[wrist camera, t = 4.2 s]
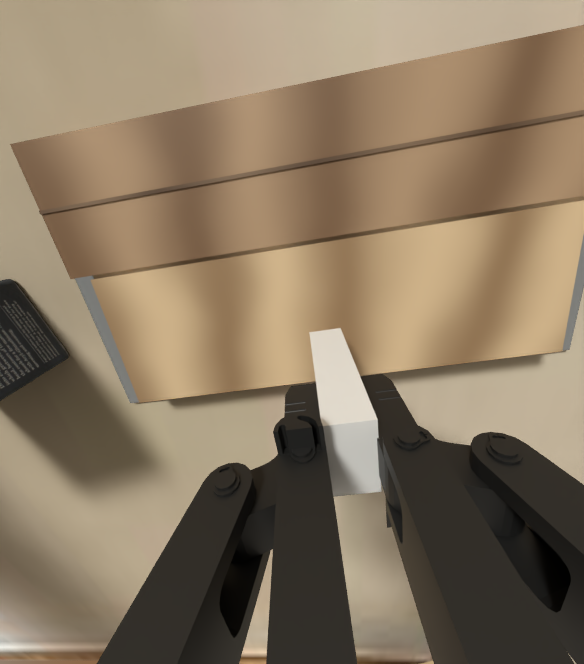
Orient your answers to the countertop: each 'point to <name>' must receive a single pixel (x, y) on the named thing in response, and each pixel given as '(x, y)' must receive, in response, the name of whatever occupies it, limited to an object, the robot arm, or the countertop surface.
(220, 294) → the plank
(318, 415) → the robot arm
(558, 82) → the floor strip
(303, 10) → the countertop surface
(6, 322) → the box
